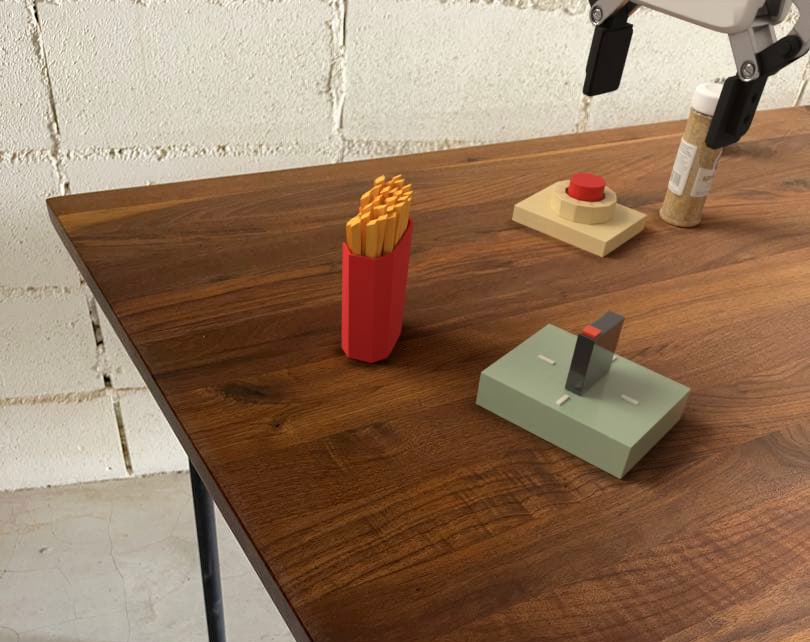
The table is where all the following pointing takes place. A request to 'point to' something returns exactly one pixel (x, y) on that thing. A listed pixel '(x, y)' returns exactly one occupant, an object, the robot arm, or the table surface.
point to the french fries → (376, 271)
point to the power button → (586, 187)
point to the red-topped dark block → (594, 352)
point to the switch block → (580, 218)
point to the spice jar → (693, 162)
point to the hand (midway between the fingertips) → (658, 117)
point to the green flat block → (582, 402)
